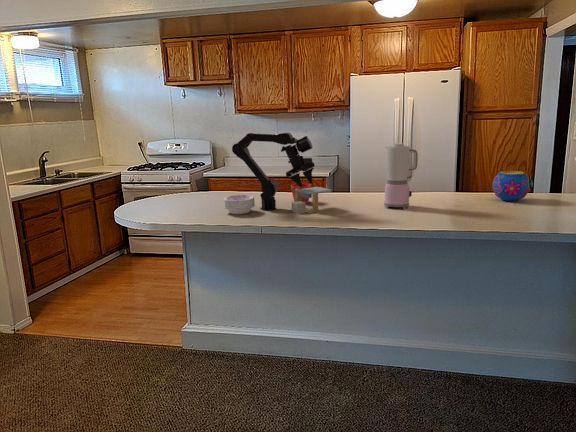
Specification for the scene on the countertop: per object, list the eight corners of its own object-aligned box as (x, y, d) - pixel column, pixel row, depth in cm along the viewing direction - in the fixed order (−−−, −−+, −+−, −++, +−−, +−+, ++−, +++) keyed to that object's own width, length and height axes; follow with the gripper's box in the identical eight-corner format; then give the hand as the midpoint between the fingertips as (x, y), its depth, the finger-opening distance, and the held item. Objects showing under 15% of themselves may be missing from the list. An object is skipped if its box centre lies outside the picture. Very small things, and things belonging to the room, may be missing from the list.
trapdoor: (310, 198, 216) (310, 192, 216) (297, 195, 226) (296, 189, 226) (331, 195, 223) (331, 189, 223) (317, 192, 233) (317, 186, 232)
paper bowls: (227, 217, 214) (226, 201, 212) (222, 210, 228) (221, 195, 227) (257, 214, 218) (257, 198, 216) (251, 208, 232) (251, 193, 231)
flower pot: (304, 205, 236) (303, 187, 234) (287, 203, 243) (287, 185, 240) (315, 201, 244) (314, 184, 242) (299, 199, 251) (298, 182, 249)
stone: (297, 213, 217) (297, 204, 216) (291, 212, 221) (291, 202, 220) (305, 212, 219) (305, 202, 218) (300, 210, 223) (299, 201, 222)
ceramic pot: (535, 203, 224) (538, 174, 221) (500, 204, 225) (502, 174, 221) (518, 196, 241) (521, 169, 238) (485, 197, 242) (487, 170, 238)
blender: (383, 209, 221) (385, 144, 213) (383, 204, 232) (385, 142, 225) (416, 209, 217) (419, 144, 210) (414, 204, 229) (417, 142, 222)
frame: (315, 213, 216) (314, 193, 214) (295, 207, 230) (295, 188, 228) (318, 212, 217) (318, 192, 215) (298, 207, 231) (298, 188, 229)
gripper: (316, 146, 215) (329, 176, 217) (296, 155, 231) (308, 182, 233) (299, 154, 210) (312, 184, 212) (279, 162, 226) (292, 190, 227)
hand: (306, 185), depth 221 cm, fingers open, 9 cm apart
